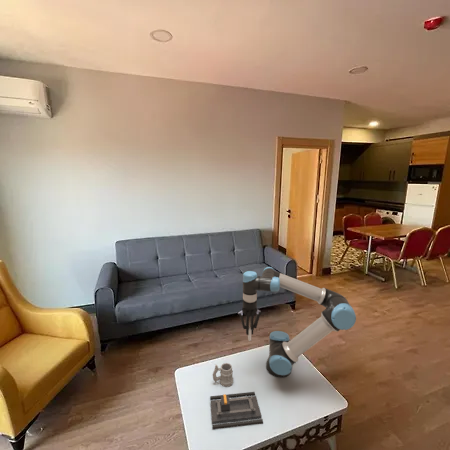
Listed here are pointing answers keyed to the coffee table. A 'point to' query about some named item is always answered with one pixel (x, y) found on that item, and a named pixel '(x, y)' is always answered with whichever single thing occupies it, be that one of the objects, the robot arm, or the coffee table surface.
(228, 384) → the mug
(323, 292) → the robot arm
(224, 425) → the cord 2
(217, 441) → the coffee table surface
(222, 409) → the breaker toggle
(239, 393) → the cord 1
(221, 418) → the breaker panel
